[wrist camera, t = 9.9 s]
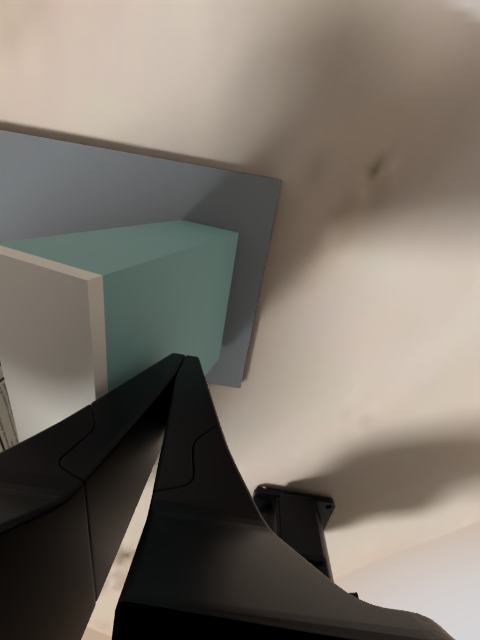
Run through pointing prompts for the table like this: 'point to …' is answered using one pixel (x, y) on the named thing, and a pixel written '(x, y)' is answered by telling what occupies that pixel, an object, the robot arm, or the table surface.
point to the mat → (141, 212)
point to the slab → (106, 311)
